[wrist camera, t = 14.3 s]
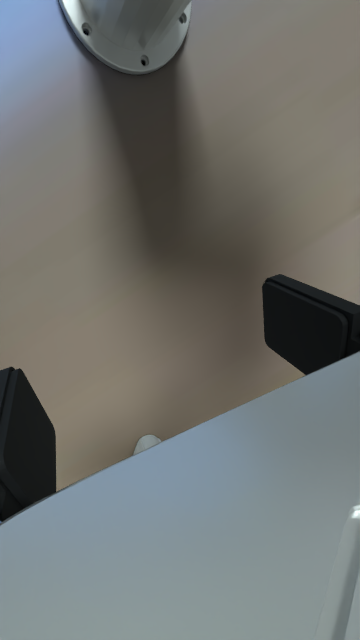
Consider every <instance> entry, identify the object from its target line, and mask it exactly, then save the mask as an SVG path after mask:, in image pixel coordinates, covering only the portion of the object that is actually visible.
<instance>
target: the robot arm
mask: <svg viewBox="0 0 360 640" xmlns="http://www.w3.org/2000/svg"><path fill="white" fill-rule="evenodd" d="M59 3H60V5H61V8H62V10H63V12H64V14H65V16H66V19H67V21H68V23H69V24H70V26H71V28H72V29H73V31H74V32H75V34H76V36H77V37H78V38H79V40H80V41H81V42H82V43H83V44H84V46H85V47H86V48H87V49H88V50H89V51H90V52H91V53H92V54H93V55H94V56H95V57H96V58H97V59H99V60H100V61H101V62H103V63H104V64H106V65H108V66H109V67H111V68H113V69H115V70H118V71H120V72H123V73H128V74H134V75H139V74H148V73H150V72H153V71H156V70H158V69H159V68H161V67H162V66H164V65H165V64H167V63H168V61H169V60H170V59H171V58H172V57H173V56H174V55H175V53H176V52H177V51H178V49H179V48H180V46H181V45H182V42H183V40H184V38H185V36H186V33H187V30H188V26H189V23H190V17H191V8H192V0H59ZM179 20H180V21H181V23H180V21H179ZM83 31H87V32H88V34H89V35H88V36H87V35H85V34H84V33H83ZM141 61H143V62H144V64H145V66H143V65H142V64H141ZM262 293H263V314H264V335H265V342H266V344H267V346H268V347H269V348H271V349H272V350H273V351H275V352H276V353H277V354H279V355H280V356H281V357H283V358H284V359H285V360H287V361H288V362H289V363H291V364H292V365H293V366H295V367H296V368H297V369H299V370H300V371H301V372H303V373H304V374H305V375H306V376H304V377H302V378H299V379H297V380H295V381H293V382H291V383H289V384H286V385H284V386H282V387H280V388H278V389H276V390H273V391H271V392H269V393H267V394H265V395H262V396H260V397H258V398H256V399H254V400H252V401H249V402H247V403H245V404H243V405H241V406H239V407H236V408H234V409H232V410H230V411H228V412H225V413H223V414H221V415H219V416H217V417H215V418H212V419H210V420H208V421H206V422H204V423H202V424H199V425H197V426H195V427H193V428H191V429H188V430H186V431H184V432H182V433H180V434H178V435H175V436H173V437H171V438H169V439H167V440H165V441H162V442H160V443H158V444H156V445H154V446H152V447H150V448H147V449H145V450H143V451H141V452H139V453H137V454H135V455H132V456H130V457H128V458H126V459H124V460H122V461H120V462H117V463H115V464H113V465H111V466H109V467H107V468H105V469H102V470H100V471H98V472H96V473H94V474H92V475H89V476H87V477H85V478H83V479H81V480H79V481H77V482H75V483H73V484H71V485H69V486H67V487H65V488H63V489H61V490H59V491H57V492H56V436H55V430H54V427H53V425H52V423H51V421H50V419H49V417H48V416H47V414H46V412H45V410H44V408H43V407H42V405H41V403H40V401H39V399H38V398H37V396H36V394H35V392H34V391H33V389H32V387H31V385H30V383H29V382H28V380H27V378H26V376H25V374H24V373H23V371H22V370H21V369H20V368H19V369H17V370H15V369H14V368H13V367H9V368H6V369H3V370H0V640H360V305H357V304H355V303H352V302H350V301H347V300H344V299H342V298H339V297H337V296H334V295H332V294H329V293H327V292H324V291H322V290H319V289H317V288H314V287H312V286H309V285H307V284H304V283H302V282H299V281H297V280H294V279H292V278H289V277H286V276H284V275H281V274H279V275H276V276H273V277H270V278H267V279H266V280H265V283H264V284H263V286H262Z"/></svg>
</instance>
